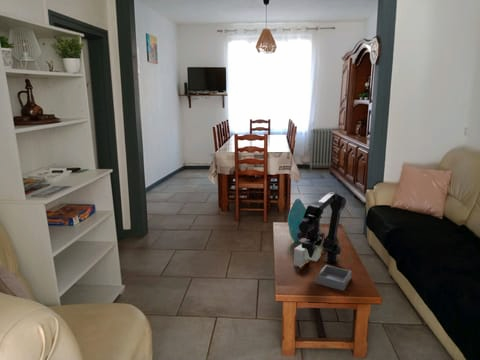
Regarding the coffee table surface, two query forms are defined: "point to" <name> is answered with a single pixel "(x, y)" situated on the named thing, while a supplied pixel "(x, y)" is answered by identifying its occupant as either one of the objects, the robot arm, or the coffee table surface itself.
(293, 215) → the teal pointed ovoid
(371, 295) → the coffee table surface
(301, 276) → the coffee table surface
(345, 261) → the coffee table surface
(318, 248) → the sage crate
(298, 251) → the small box
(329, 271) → the grey crate
